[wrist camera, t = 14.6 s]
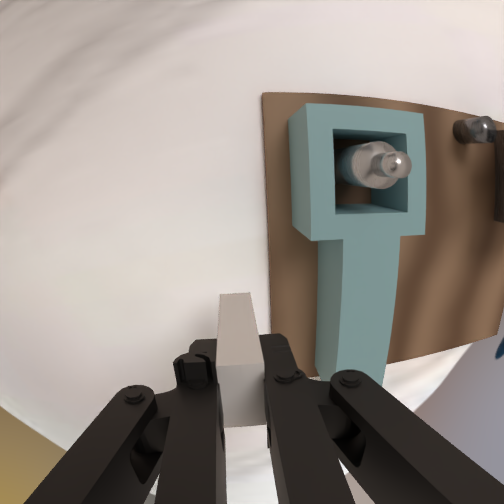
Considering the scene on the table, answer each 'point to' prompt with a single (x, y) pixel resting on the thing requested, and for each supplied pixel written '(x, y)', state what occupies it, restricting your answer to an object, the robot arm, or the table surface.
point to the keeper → (487, 133)
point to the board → (411, 247)
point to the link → (355, 230)
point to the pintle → (370, 165)
